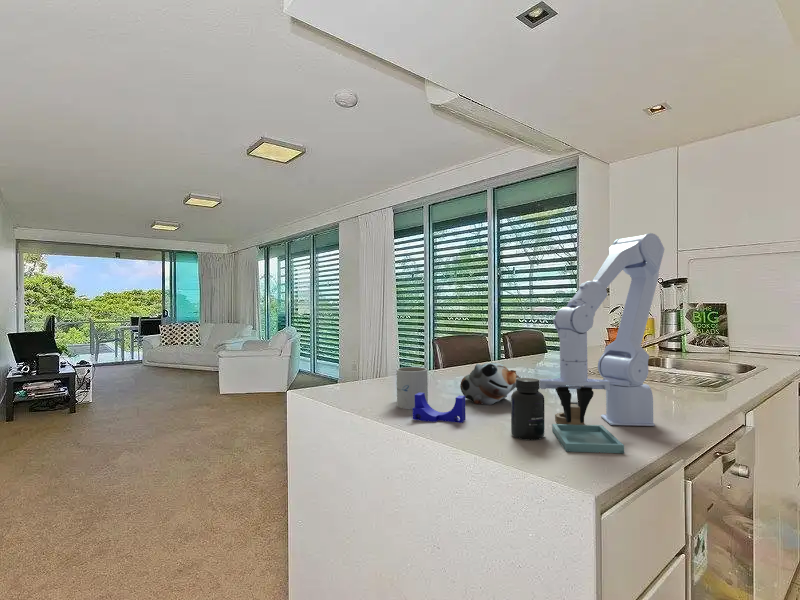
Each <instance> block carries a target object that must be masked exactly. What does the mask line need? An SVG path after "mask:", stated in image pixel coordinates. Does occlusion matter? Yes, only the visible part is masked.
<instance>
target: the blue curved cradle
mask: <svg viewBox="0 0 800 600" xmlns="http://www.w3.org/2000/svg"><path fill="white" fill-rule="evenodd" d="M412 420H413V421H419V422H420V421H421V422H429V423H430V422H432V423H437V422H439V421H440V422H449V423H459V424H460V423H461V424H463V423H464V422H465V421H466V420H467V419H466V398H465V396H464V395H457V396H456V397H455V401H454V405H453V407H452V409H450V410H449V411H446V412H445V411H444V412H443V411H437V410H435V409H434V408H433V407H431V405H430V404H429V402H428V403H427V401H426V398H425V393H417V394H415V407H414V408H413V409H412Z"/></svg>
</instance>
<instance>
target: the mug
mask: <svg viewBox="0 0 800 600" xmlns="http://www.w3.org/2000/svg"><path fill="white" fill-rule="evenodd" d="M428 380H429V379H428V368H426V367H419V366H417V367H416V366H408V367H407V366H404V367H399V368H396V406H397V408H400V409H404V410H405V409H406V410H413V408H414V407H415V394H417V393H425V398H426V401H427V403H428V404H429V392H428V391H429V390H428V388H429V387H428V386H429V385H428V382H429V381H428Z"/></svg>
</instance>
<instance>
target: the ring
mask: <svg viewBox="0 0 800 600" xmlns="http://www.w3.org/2000/svg"><path fill="white" fill-rule="evenodd" d="M570 408H571V422H567V421H566V418H565V417H564V411H563V412H559V413H554V421H555V424H573V425H585V420H584V421H583V423H580V407H579V406H578V405H577V404H571V407H570Z"/></svg>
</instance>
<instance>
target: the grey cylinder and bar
mask: <svg viewBox="0 0 800 600" xmlns="http://www.w3.org/2000/svg"><path fill="white" fill-rule="evenodd" d="M571 404H577V405H578V401H571ZM560 406H561V407H563V406H562V403H561V402H560ZM563 413H564V417H565V412H564V411H563Z"/></svg>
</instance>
